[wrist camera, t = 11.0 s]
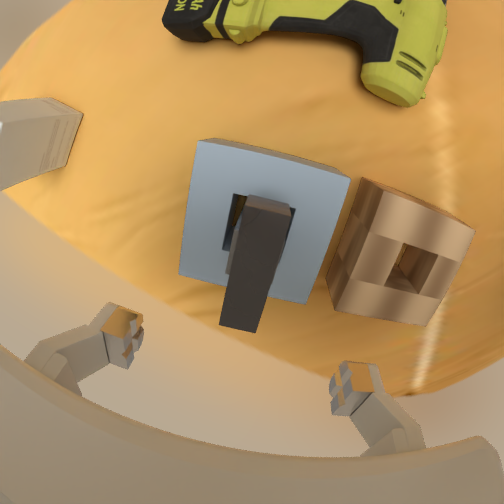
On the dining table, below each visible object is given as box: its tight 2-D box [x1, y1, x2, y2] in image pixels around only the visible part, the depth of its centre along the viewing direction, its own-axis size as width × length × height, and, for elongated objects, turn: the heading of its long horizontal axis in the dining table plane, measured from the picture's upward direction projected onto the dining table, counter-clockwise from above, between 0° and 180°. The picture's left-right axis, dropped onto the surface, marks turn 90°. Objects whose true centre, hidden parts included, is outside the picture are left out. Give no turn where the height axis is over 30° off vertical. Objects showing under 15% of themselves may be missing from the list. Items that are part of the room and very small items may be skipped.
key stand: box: [326, 177, 476, 326], centre depth 25 cm, size 12×12×6 cm
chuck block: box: [179, 138, 351, 305], centre depth 25 cm, size 12×12×6 cm
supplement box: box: [0, 98, 83, 191], centre depth 19 cm, size 7×7×13 cm
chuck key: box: [219, 194, 291, 333], centre depth 21 cm, size 8×3×13 cm, turn 167°
